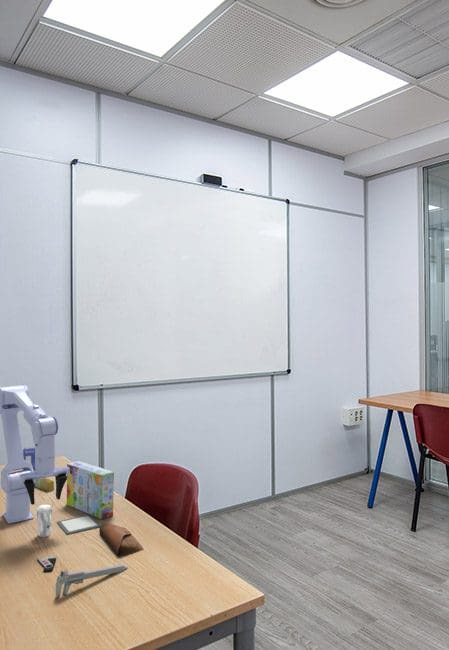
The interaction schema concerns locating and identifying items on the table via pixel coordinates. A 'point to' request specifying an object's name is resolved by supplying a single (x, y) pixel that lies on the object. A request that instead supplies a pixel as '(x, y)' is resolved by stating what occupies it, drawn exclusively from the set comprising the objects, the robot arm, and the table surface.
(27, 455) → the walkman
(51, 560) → the usb flash drive
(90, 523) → the mat
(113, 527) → the sunglasses case
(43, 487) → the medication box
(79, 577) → the caliper
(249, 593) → the table surface
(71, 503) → the snack box
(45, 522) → the milkshake
